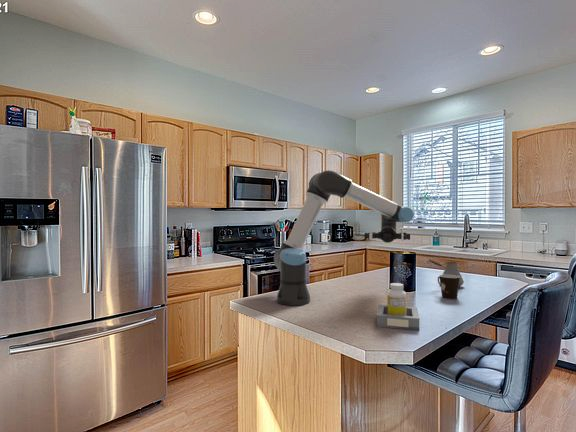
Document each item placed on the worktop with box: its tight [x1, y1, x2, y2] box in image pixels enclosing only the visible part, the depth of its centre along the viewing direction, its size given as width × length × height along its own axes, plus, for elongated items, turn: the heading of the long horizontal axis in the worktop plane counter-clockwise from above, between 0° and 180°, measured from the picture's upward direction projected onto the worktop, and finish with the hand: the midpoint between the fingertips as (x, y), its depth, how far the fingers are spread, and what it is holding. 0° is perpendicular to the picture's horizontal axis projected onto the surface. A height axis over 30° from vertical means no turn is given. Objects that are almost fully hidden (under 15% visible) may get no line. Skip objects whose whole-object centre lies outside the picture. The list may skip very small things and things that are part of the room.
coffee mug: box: [437, 274, 460, 300], centre depth 159 cm, size 12×9×10 cm
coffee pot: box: [427, 259, 465, 288], centre depth 179 cm, size 21×12×15 cm, turn 109°
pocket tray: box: [376, 304, 420, 331], centre depth 123 cm, size 14×14×4 cm
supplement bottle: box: [386, 282, 408, 316], centre depth 123 cm, size 7×7×13 cm
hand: (386, 237), depth 148 cm, fingers open, 13 cm apart
